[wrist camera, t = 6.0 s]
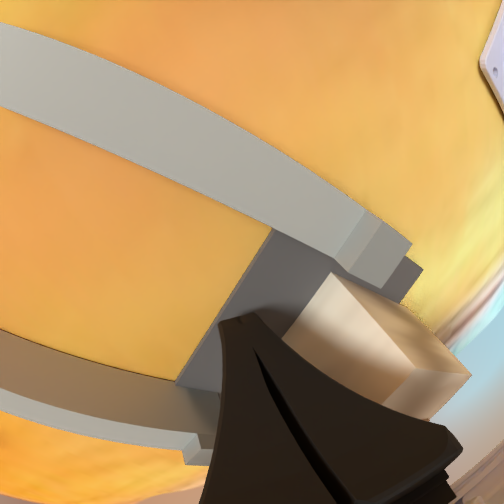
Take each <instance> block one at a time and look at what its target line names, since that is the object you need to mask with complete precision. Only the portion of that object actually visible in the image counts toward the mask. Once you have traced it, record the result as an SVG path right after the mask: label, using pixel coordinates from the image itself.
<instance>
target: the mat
mask: <svg viewBox="0 0 504 504" xmlns="http://www.w3.org/2000/svg"><path fill="white" fill-rule="evenodd" d="M422 271H423V269H422V268H421V267H420V266H418V265H417V264H415V263H414V262H413V261H411V260H410V259H409V258H407V257H406V256H404V257H403V259H402V260H401V262H400V263H399V264H398V266H397V267H396V269H395V270H394V272H393V273H392V274H391V276H390V277H389V279H388V280H387V281H386V283H385V284H384V285H383V287H382V288H381V289H380V288H378V287H376V286H374V285H372V284H370V283H368V282H366V281H364V280H362V279H360V278H358V277H356V276H354V275H352V274H350V273H348V272H347V271H346V270H345V269H344V268H343V267H342V266H341V265H340V264H339V263H338V262H337V261H336V260H335V259H334V258H332V257H330V256H328V255H326V254H324V253H322V252H320V251H318V250H316V249H315V248H313V247H311V246H309V245H307V244H305V243H303V242H301V241H299V240H297V239H295V238H293V237H290V236H288V235H286V234H284V233H282V232H280V231H278V230H276V229H274V228H273V229H272V230H271V232H270V233H269V235H268V237H267V238H266V240H265V241H264V243H263V244H262V246H261V248H260V249H259V251H258V252H257V254H256V255H255V257H254V259H253V260H252V262H251V263H250V265H249V266H248V268H247V270H246V271H245V273H244V274H243V276H242V277H241V279H240V281H239V282H238V284H237V285H236V287H235V288H234V290H233V291H232V293H231V295H230V296H229V298H228V299H227V301H226V302H225V304H224V306H223V307H222V309H221V310H220V312H219V313H218V315H217V317H216V318H215V320H214V321H213V323H212V324H211V326H210V327H209V329H208V331H207V332H206V334H205V335H204V337H203V338H202V340H201V341H200V343H199V345H198V346H197V348H196V349H195V351H194V352H193V354H192V355H191V357H190V359H189V360H188V362H187V363H186V365H185V366H184V368H183V369H182V371H181V373H180V374H179V376H178V377H177V379H176V380H175V386H181V387H186V388H192V389H198V390H204V391H210V392H217V393H218V396H219V399H220V402H221V390H222V344H221V340H220V335H219V330H218V326H217V324H218V323H219V322H220V321H222V320H226V319H230V318H234V317H237V316H241V315H245V314H249V313H252V312H254V313H256V314H257V315H258V316H259V317H260V318H261V319H262V321H263V322H264V323H265V324H266V325H267V326H268V327H269V328H270V329H271V330H272V331H273V332H274V333H275V334H276V335H277V336H278V337H279V338H280V339H282V337H283V336H284V335H285V333H286V332H287V331H288V330H289V328H290V327H291V326H292V324H293V323H294V322H295V320H296V319H297V318H298V316H299V315H300V314H301V312H302V311H303V310H304V308H305V307H306V306H307V304H308V303H309V302H310V300H311V299H312V298H313V296H314V295H315V293H316V292H317V291H318V289H319V288H320V287H321V285H322V284H323V282H324V281H325V280H326V278H327V277H328V275H329V274H330V273H331V272H332V273H334V274H337V275H339V276H341V277H343V278H345V279H347V280H349V281H352V282H354V283H356V284H358V285H360V286H362V287H364V288H366V289H369V290H371V291H373V292H375V293H377V294H379V295H381V296H383V297H386V298H388V299H390V300H392V301H394V302H396V303H398V304H399V303H400V302H401V300H402V299H403V298H404V296H405V295H406V294H407V292H408V291H409V289H410V288H411V287H412V285H413V284H414V283H415V281H416V280H417V278H418V277H419V276H420V274H421V273H422Z"/></svg>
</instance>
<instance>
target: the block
mask: <svg viewBox="0 0 504 504" xmlns="http://www.w3.org/2000/svg"><path fill="white" fill-rule="evenodd" d="M282 340H283V341H284V342H285V343H286V344H287V345H288V346H290V347H291V348H292V349H293V350H294V351H295V352H297V353H298V354H299V355H300V356H301V357H303V358H304V359H305V360H307V361H308V362H309V363H310V364H312V365H313V366H315V367H316V368H317V369H319V370H320V371H321V372H323V373H324V374H326V375H327V376H329V377H330V378H332V379H333V380H335V381H337V382H338V383H340V384H342V385H343V386H345V387H347V388H348V389H350V390H352V391H354V392H356V393H358V394H359V395H361V396H363V397H365V398H367V399H370V400H372V401H374V402H376V403H379V404H381V405H383V406H385V407H388V408H390V409H392V410H395V411H397V412H400V413H403V414H406V415H408V416H411V417H414V418H418V419H421V420H424V421H428V422H429V421H430V420H429V419H430V418H431V417H432V416H433V415H434V414H436V413H437V412H438V411H439V410H440V409H441V408H442V406H444V405H445V404H446V403H447V402H448V401H449V400H450V398H452V396H453V395H454V394H455V393H456V392H457V391H458V390H459V389H460V388H461V387H462V386H463V384H465V382H466V381H467V380H468V379H469V378H470V377H471V376H472V374H471V373H470V372H469V371H468V370H467V369H466V368H465V367H464V366H463V365H462V363H461V362H460V361H459V360H458V359H457V358H456V357H455V356H454V355H453V354H452V353H451V352H450V351H449V350H448V349H447V347H446V346H445V345H444V344H443V343H442V342H441V341H440V340H439V339H438V338H437V337H436V336H435V335H434V334H433V333H432V332H431V331H430V330H429V329H428V328H427V327H426V326H425V325H424V324H423V323H422V322H421V321H420V320H419V319H418V318H417V317H416V316H415V315H414V314H413V313H412V312H411V311H410V310H409V309H408V308H407V307H404V306H402V305H400V304H398V303H396V302H394V301H392V300H390V299H388V298H386V297H383V296H381V295H379V294H377V293H375V292H373V291H371V290H369V289H366V288H364V287H362V286H360V285H358V284H356V283H354V282H352V281H349V280H347V279H345V278H343V277H341V276H339V275H337V274H334V273H332V272H331V273H330V274H329V275H328V277H327V278H326V280H325V281H324V282H323V284H322V285H321V287H320V288H319V289H318V291H317V292H316V293H315V295H314V296H313V298H312V299H311V300H310V302H309V303H308V304H307V306H306V307H305V308H304V310H303V311H302V312H301V314H300V315H299V316H298V318H297V319H296V320H295V322H294V323H293V324H292V326H291V327H290V328H289V330H288V331H287V332H286V333H285V335H284V336H283V337H282Z"/></svg>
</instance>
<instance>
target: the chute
mask: <svg viewBox="0 0 504 504" xmlns="http://www.w3.org/2000/svg"><path fill="white" fill-rule="evenodd" d="M0 106H1V107H4V108H6V109H9V110H11V111H14V112H16V113H19V114H21V115H24V116H26V117H29V118H31V119H34V120H36V121H38V122H41V123H43V124H46V125H48V126H50V127H53V128H55V129H58V130H60V131H62V132H65V133H67V134H69V135H72V136H74V137H76V138H79V139H81V140H83V141H86V142H88V143H90V144H93V145H95V146H97V147H100V148H102V149H104V150H107V151H109V152H111V153H113V154H116V155H118V156H120V157H122V158H125V159H127V160H129V161H131V162H134V163H136V164H138V165H140V166H143V167H145V168H147V169H149V170H151V171H154V172H156V173H158V174H160V175H162V176H165V177H167V178H169V179H171V180H173V181H176V182H178V183H180V184H182V185H184V186H186V187H188V188H191V189H193V190H195V191H197V192H199V193H201V194H203V195H206V196H208V197H210V198H212V199H214V200H216V201H218V202H220V203H223V204H225V205H227V206H229V207H231V208H233V209H235V210H237V211H239V212H241V213H243V214H246V215H248V216H250V217H252V218H254V219H256V220H258V221H260V222H262V223H264V224H266V225H268V226H270V227H272V228H274V229H276V230H278V231H280V232H282V233H284V234H286V235H288V236H290V237H293V238H295V239H297V240H299V241H301V242H303V243H305V244H307V245H309V246H311V247H313V248H315V249H316V250H318V251H320V252H322V253H324V254H326V255H328V256H330V257H332V258H334V259H335V260H336V261H337V262H338V263H339V264H340V265H341V266H342V267H343V268H344V269H345V270H346V271H347V272H348V273H350V274H352V275H354V276H356V277H358V278H360V279H362V280H364V281H366V282H368V283H370V284H372V285H374V286H376V287H378V288H380V289H381V288H382V287H383V285H384V284H385V283H386V281H387V280H388V279H389V277H390V276H391V274H392V273H393V272H394V270H395V269H396V267H397V266H398V264H399V263H400V262H401V260H402V259H403V257H404V256H405V254H406V253H407V251H408V250H409V248H410V247H411V245H412V243H411V242H410V241H408V240H407V239H406V238H405V237H403V236H402V235H401V234H400V233H398V232H397V231H396V230H394V229H393V228H392V227H391V226H389V225H388V224H387V223H385V222H384V221H383V220H381V219H380V218H378V217H377V216H375V215H374V214H372V213H371V212H369V211H368V210H366V209H365V208H364V207H362V206H361V205H359V204H358V203H357V202H355V201H354V200H352V199H351V198H350V197H348V196H347V195H345V194H344V193H343V192H341V191H340V190H338V189H337V188H335V187H334V186H332V185H331V184H329V183H328V182H327V181H325V180H324V179H322V178H321V177H319V176H318V175H316V174H315V173H313V172H312V171H310V170H309V169H307V168H306V167H304V166H303V165H301V164H299V163H298V162H296V161H295V160H293V159H292V158H290V157H288V156H287V155H285V154H284V153H282V152H281V151H279V150H277V149H276V148H274V147H272V146H271V145H269V144H268V143H266V142H264V141H263V140H261V139H259V138H258V137H256V136H254V135H253V134H251V133H249V132H247V131H246V130H244V129H242V128H241V127H239V126H237V125H235V124H234V123H232V122H230V121H228V120H227V119H225V118H223V117H221V116H219V115H218V114H216V113H214V112H212V111H210V110H209V109H207V108H205V107H203V106H201V105H199V104H197V103H195V102H194V101H192V100H190V99H188V98H186V97H184V96H182V95H180V94H178V93H176V92H174V91H172V90H170V89H168V88H166V87H164V86H162V85H160V84H158V83H156V82H154V81H152V80H150V79H148V78H145V77H143V76H141V75H139V74H137V73H135V72H133V71H130V70H128V69H126V68H124V67H121V66H119V65H117V64H115V63H112V62H110V61H108V60H105V59H103V58H101V57H98V56H96V55H93V54H91V53H88V52H86V51H83V50H81V49H78V48H76V47H73V46H71V45H68V44H65V43H63V42H60V41H57V40H54V39H52V38H49V37H46V36H43V35H40V34H37V33H34V32H31V31H28V30H25V29H22V28H18V27H15V26H12V25H9V24H5V23H2V22H0ZM220 403H221V402H220V399H219V396H218V393H217V392H210V391H204V390H198V389H192V388H186V387H181V386H175V382H173V381H168V380H163V379H159V378H154V377H149V376H145V375H141V374H137V373H132V372H128V371H124V370H120V369H117V368H113V367H109V366H105V365H102V364H98V363H95V362H91V361H88V360H84V359H81V358H78V357H75V356H71V355H68V354H65V353H62V352H59V351H56V350H53V349H50V348H47V347H44V346H42V345H39V344H36V343H33V342H31V341H28V340H25V339H23V338H20V337H18V336H15V335H12V334H10V333H8V332H5V331H3V330H0V410H1V411H4V412H6V413H9V414H12V415H15V416H18V417H20V418H23V419H26V420H29V421H33V422H36V423H39V424H42V425H46V426H49V427H53V428H56V429H60V430H64V431H68V432H72V433H76V434H80V435H84V436H89V437H93V438H98V439H103V440H108V441H114V442H119V443H125V444H132V445H138V446H145V447H153V448H162V449H171V450H182V453H183V457H184V462H185V465H198V466H210V462H211V458H212V453H213V449H214V443H215V438H216V433H217V427H218V420H219V412H220Z"/></svg>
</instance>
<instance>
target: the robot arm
mask: <svg viewBox="0 0 504 504" xmlns="http://www.w3.org/2000/svg"><path fill="white" fill-rule="evenodd" d="M479 64H480V68H481V70H482V72H483V74H484V76H485V77H486V79H487V81H488V83H489V85H490V87H491V89H492V90H493V92H494V94H495V96H496V98H497V100H498V102H499V104H500V106H501V109H502V111H503V113H504V0H502V3H501V6H500V9H499V11H498V14H497V17H496V19H495V22H494V24H493V27H492V30H491V32H490V35H489V37H488V39H487V42H486V44H485V47H484V49H483V51H482V54H481V56H480V59H479ZM217 326H218V330H219V335H220V340H221V344H222V390H221V403H220V412H219V420H218V427H217V433H216V438H215V443H214V449H213V453H212V458H211V462H210V466H209V470H208V474H207V477H206V481H205V485H204V489H203V492H202V495H201V498H200V501H199V504H504V440H503V441H502V442H501V443H500V444H499V445H497V446H496V447H495V448H494V449H493V450H492V451H491V452H490V453H489V454H488V455H487V456H486V457H485V458H483V459H482V460H481V461H480V462H479V463H478V464H477V465H475V466H474V467H473V468H472V469H471V470H469V471H468V472H467V473H466V474H465V475H464V476H462V477H461V478H460V479H458V480H457V481H456V482H454V483H453V484H452V485H451V486H449V484H448V483H447V481H446V480H447V479H448V478H449V476H448V474H447V473H446V471H445V470H444V469H445V468H446V467H447V466H448V465H449V464H450V463H452V462H453V461H454V460H455V459H456V458H457V457H458V456H459V455H460V454H461V453H462V451H463V447H462V446H461V444H460V443H459V442H458V440H457V439H456V438H455V436H454V435H453V434H452V433H451V432H450V431H449V430H448V429H447V428H446V427H445V426H443V425H439V424H435V423H431V422H428V421H424V420H421V419H418V418H414V417H411V416H408V415H406V414H403V413H400V412H397V411H395V410H392V409H390V408H388V407H385V406H383V405H381V404H379V403H376V402H374V401H372V400H370V399H367V398H365V397H363V396H361V395H359V394H358V393H356V392H354V391H352V390H350V389H348V388H347V387H345V386H343V385H342V384H340V383H338V382H337V381H335V380H333V379H332V378H330V377H329V376H327V375H326V374H324V373H323V372H321V371H320V370H319V369H317V368H316V367H315V366H313V365H312V364H310V363H309V362H308V361H307V360H305V359H304V358H303V357H301V356H300V355H299V354H298V353H297V352H295V351H294V350H293V349H292V348H291V347H290V346H288V345H287V344H286V343H285V342H284V341H283V340H282V339H280V338H279V337H278V336H277V335H276V334H275V333H274V332H273V331H272V330H271V329H270V328H269V327H268V326H267V325H266V324H265V323H264V322H263V321H262V319H261V318H260V317H259V316H258V315H257V314H256V313H254V312H252V313H249V314H245V315H241V316H237V317H234V318H230V319H226V320H222V321H220V322H219V323H218V324H217Z"/></svg>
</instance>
